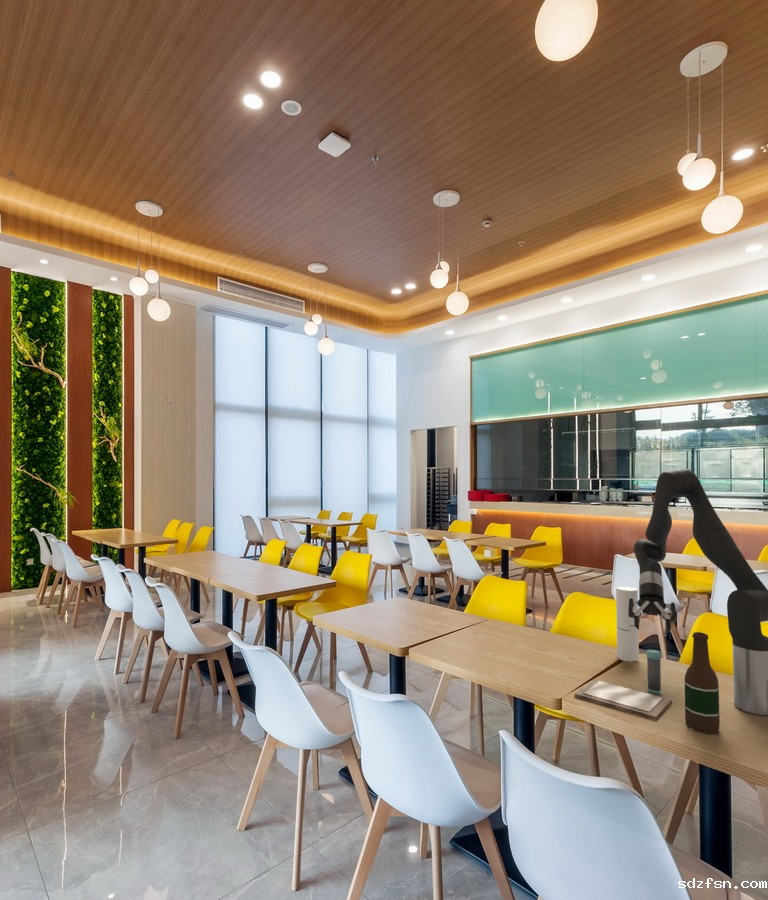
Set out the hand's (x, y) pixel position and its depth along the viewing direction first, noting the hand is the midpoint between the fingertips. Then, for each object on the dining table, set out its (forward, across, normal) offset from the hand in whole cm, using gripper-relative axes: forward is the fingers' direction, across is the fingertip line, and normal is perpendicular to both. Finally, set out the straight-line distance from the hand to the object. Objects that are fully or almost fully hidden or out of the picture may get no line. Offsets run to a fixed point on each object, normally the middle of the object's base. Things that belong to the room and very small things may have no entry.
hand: (652, 629), depth 170 cm
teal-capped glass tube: (+19, 0, +3) cm, 19 cm away
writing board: (+27, -8, -5) cm, 29 cm away
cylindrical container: (-2, -8, +25) cm, 26 cm away
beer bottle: (+34, +11, -11) cm, 37 cm away
